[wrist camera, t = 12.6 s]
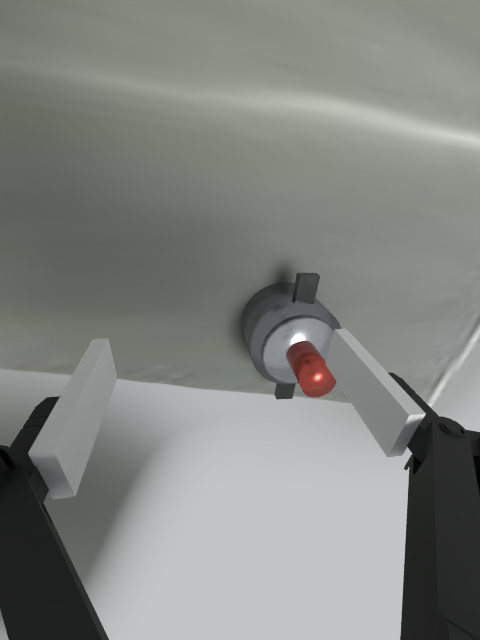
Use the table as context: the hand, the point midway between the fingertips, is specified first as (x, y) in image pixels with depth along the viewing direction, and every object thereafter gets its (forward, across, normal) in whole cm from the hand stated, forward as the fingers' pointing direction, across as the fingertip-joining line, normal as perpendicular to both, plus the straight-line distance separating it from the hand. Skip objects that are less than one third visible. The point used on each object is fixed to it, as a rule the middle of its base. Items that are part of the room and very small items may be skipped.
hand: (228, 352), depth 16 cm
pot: (+27, +13, -14) cm, 33 cm away
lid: (+18, +13, -13) cm, 26 cm away
